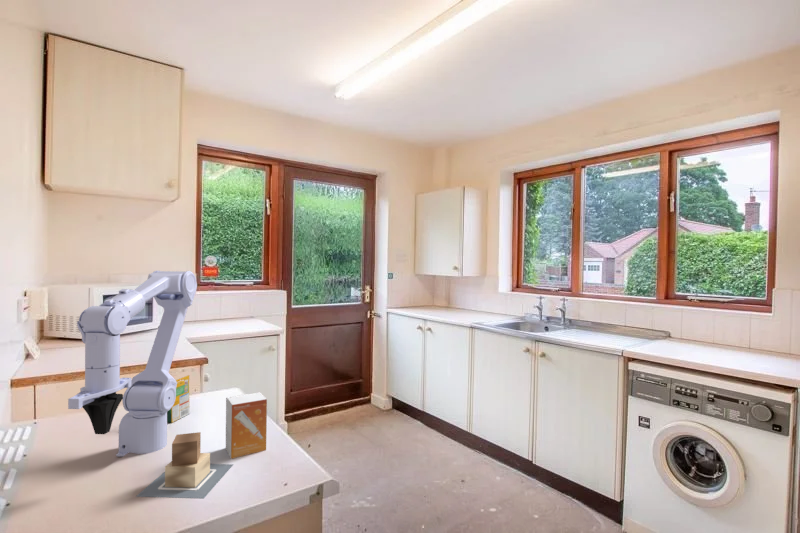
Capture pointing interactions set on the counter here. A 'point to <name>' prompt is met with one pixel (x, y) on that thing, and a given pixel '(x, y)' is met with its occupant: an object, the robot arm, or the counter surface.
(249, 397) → the small box
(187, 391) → the crayon box
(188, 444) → the walnut block
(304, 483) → the counter surface
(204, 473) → the maple block
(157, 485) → the board
